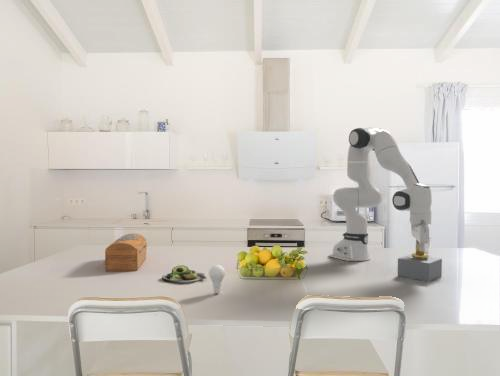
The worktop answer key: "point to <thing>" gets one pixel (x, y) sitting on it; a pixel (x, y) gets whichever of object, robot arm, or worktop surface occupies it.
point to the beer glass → (427, 248)
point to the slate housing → (420, 268)
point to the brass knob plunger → (419, 253)
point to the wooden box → (126, 253)
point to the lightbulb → (216, 277)
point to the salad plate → (183, 275)
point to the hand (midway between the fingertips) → (419, 249)
